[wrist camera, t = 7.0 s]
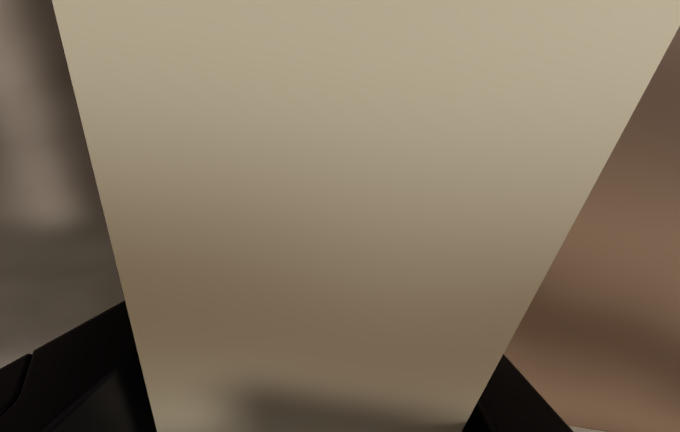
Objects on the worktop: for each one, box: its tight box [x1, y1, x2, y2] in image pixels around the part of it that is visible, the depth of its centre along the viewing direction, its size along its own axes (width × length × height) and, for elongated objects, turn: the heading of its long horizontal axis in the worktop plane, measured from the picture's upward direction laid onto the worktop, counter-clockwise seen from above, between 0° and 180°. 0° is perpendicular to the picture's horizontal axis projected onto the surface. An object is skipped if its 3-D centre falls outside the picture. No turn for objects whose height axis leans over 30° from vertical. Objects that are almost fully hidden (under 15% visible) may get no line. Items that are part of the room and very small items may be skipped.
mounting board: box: [504, 26, 680, 432], centre depth 8 cm, size 21×21×2 cm
